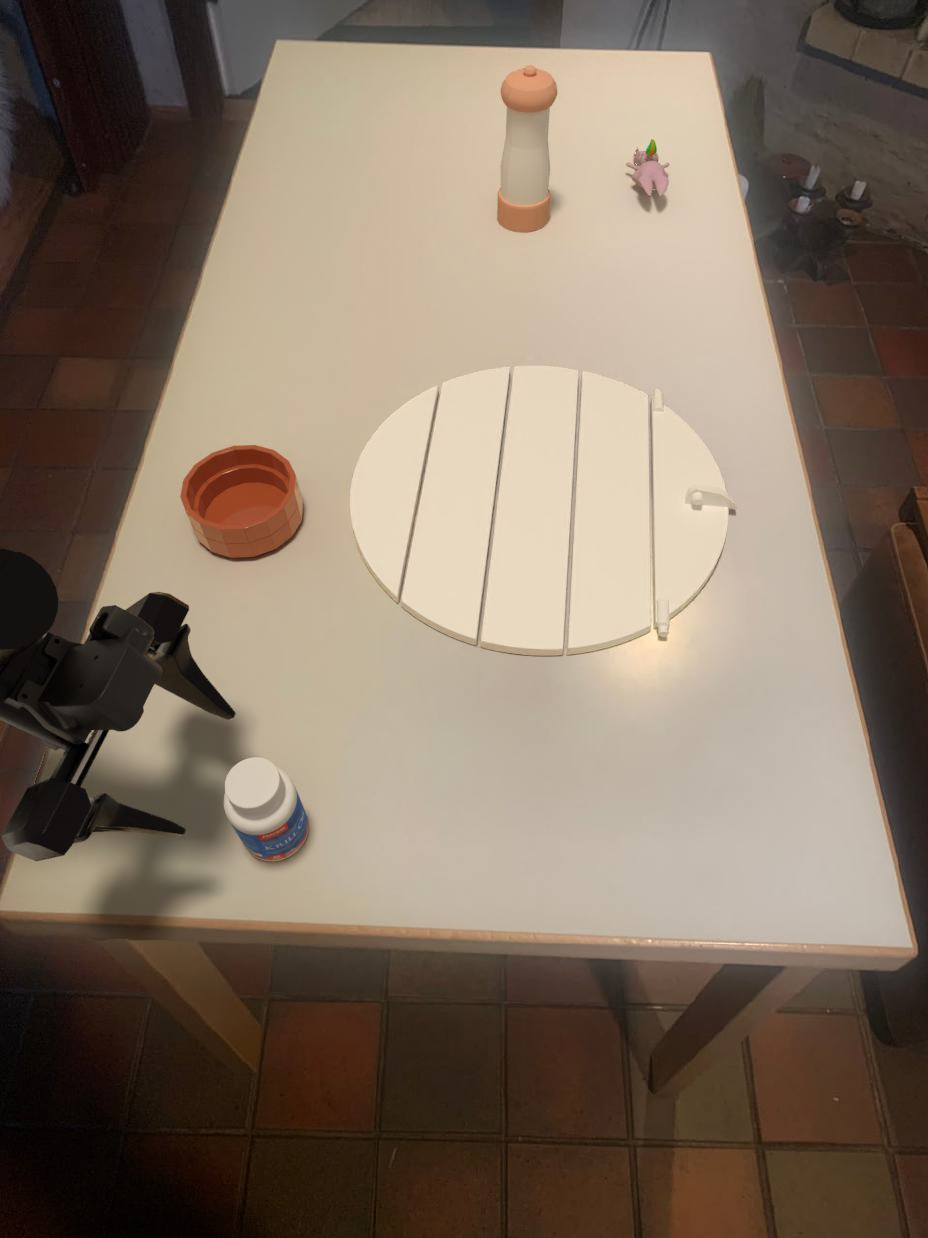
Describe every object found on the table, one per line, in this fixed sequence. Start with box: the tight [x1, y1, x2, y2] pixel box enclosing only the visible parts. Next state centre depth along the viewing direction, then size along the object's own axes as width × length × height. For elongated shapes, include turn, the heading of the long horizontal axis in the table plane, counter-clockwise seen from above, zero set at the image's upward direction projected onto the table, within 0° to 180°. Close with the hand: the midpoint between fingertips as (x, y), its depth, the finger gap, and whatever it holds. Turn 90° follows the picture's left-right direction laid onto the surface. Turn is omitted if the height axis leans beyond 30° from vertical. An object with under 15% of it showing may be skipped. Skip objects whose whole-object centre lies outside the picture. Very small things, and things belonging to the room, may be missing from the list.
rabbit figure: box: [625, 138, 670, 197], centre depth 119 cm, size 6×6×15 cm
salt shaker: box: [496, 64, 558, 233], centre depth 110 cm, size 7×7×19 cm
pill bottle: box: [223, 756, 309, 862], centre depth 65 cm, size 6×5×10 cm
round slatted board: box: [349, 365, 738, 657], centre depth 87 cm, size 40×39×3 cm
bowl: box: [179, 444, 304, 559], centre depth 85 cm, size 11×11×5 cm
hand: (208, 772), depth 61 cm, fingers open, 9 cm apart
